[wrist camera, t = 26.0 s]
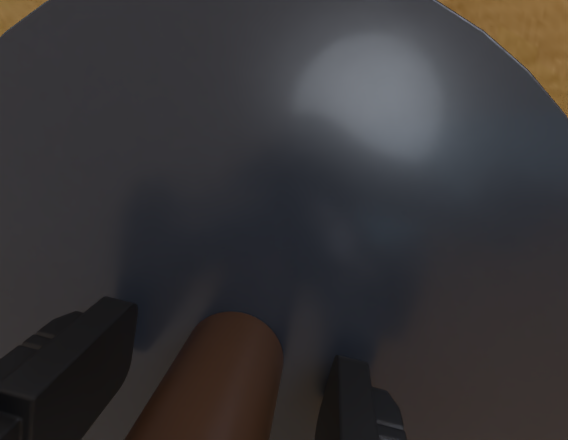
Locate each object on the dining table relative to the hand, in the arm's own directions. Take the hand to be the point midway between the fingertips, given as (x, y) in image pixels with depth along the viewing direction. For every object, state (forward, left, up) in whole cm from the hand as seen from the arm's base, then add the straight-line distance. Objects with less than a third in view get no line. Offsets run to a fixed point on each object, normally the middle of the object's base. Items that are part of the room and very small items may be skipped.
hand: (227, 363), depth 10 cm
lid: (0, 0, -1) cm, 1 cm away
